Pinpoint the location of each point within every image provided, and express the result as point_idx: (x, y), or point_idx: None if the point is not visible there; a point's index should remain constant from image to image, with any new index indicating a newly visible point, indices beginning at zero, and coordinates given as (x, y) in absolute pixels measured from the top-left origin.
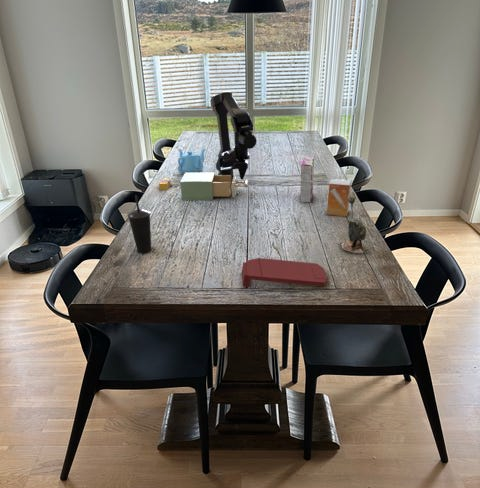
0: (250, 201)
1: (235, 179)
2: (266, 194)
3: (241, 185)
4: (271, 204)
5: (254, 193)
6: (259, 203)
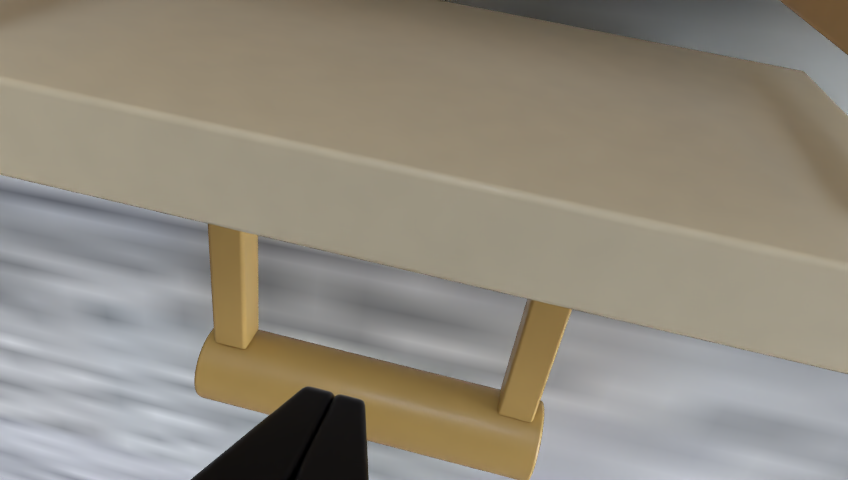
0: (99, 236)
1: (324, 232)
2: (387, 475)
3: (215, 277)
4: (37, 421)
5: (460, 365)
6: (42, 322)
